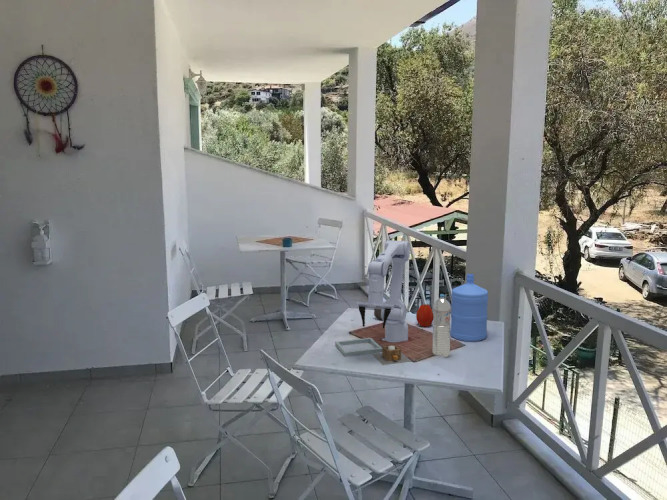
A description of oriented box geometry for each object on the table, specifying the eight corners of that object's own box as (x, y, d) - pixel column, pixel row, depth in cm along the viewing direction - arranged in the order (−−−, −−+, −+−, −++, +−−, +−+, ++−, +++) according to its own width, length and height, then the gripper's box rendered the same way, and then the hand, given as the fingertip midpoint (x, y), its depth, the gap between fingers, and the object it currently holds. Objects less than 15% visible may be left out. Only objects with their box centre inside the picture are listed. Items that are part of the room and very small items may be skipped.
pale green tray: (370, 343, 231) (370, 337, 230) (382, 354, 218) (382, 348, 217) (335, 347, 227) (335, 341, 226) (345, 358, 213) (344, 352, 213)
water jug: (485, 343, 229) (488, 279, 224) (448, 340, 234) (449, 277, 229) (487, 332, 243) (489, 272, 239) (452, 329, 248) (454, 270, 244)
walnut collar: (395, 354, 214) (395, 344, 214) (402, 361, 207) (403, 351, 207) (382, 356, 213) (382, 346, 212) (389, 362, 206) (389, 352, 205)
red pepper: (423, 321, 261) (423, 300, 259) (437, 325, 255) (437, 303, 253) (412, 325, 255) (412, 303, 253) (426, 329, 249) (426, 306, 247)
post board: (399, 353, 219) (399, 340, 218) (411, 363, 207) (411, 350, 206) (371, 356, 215) (371, 343, 214) (382, 367, 204) (382, 353, 203)
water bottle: (439, 359, 211) (440, 297, 207) (428, 354, 217) (430, 294, 213) (453, 356, 214) (454, 295, 210) (442, 351, 220) (443, 291, 216)
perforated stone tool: (405, 321, 262) (405, 307, 261) (401, 324, 258) (401, 310, 257) (377, 317, 270) (377, 303, 269) (373, 319, 265) (373, 306, 264)
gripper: (356, 291, 205) (354, 326, 205) (394, 294, 204) (392, 330, 203) (357, 290, 212) (355, 324, 212) (394, 293, 211) (392, 327, 210)
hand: (373, 327), depth 208 cm, fingers open, 7 cm apart
